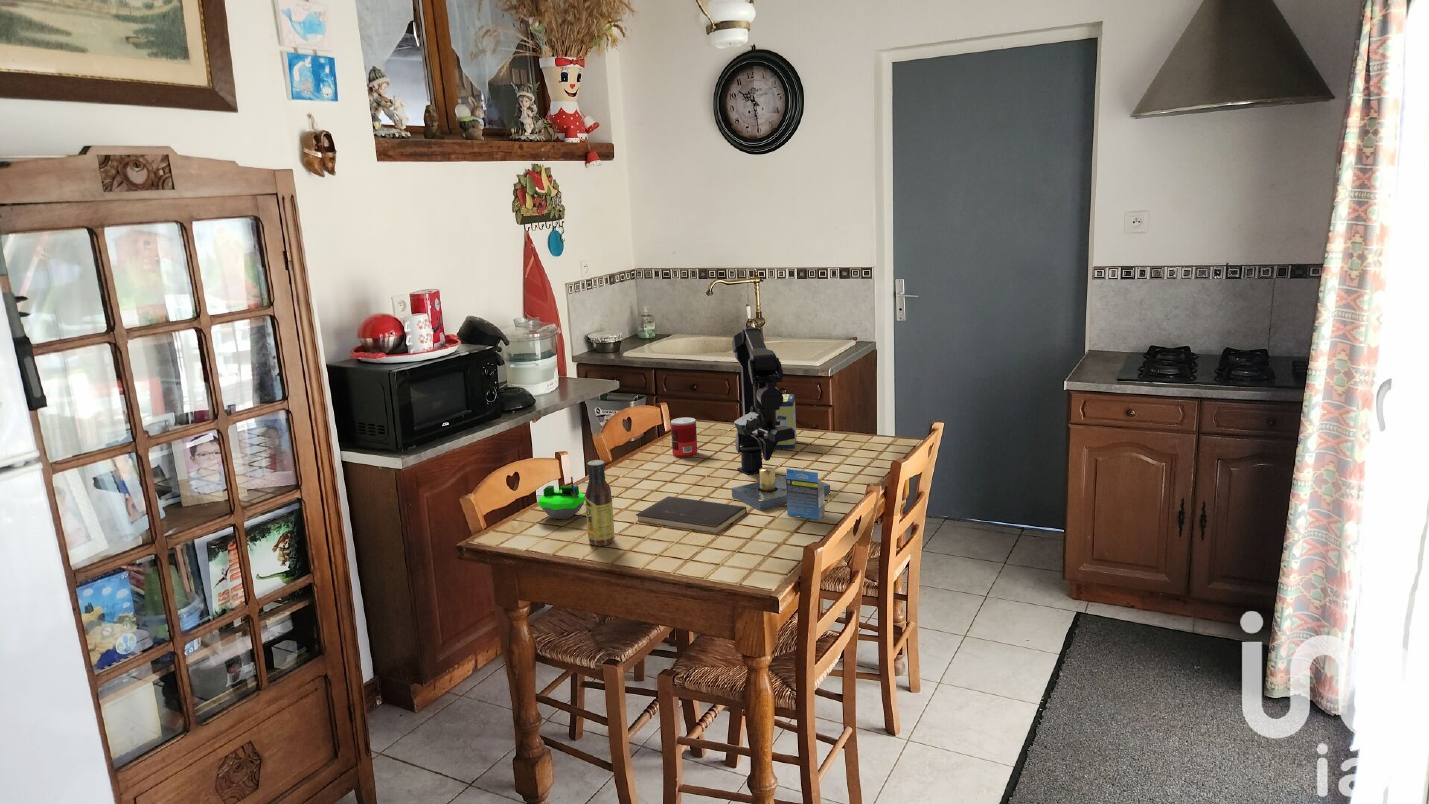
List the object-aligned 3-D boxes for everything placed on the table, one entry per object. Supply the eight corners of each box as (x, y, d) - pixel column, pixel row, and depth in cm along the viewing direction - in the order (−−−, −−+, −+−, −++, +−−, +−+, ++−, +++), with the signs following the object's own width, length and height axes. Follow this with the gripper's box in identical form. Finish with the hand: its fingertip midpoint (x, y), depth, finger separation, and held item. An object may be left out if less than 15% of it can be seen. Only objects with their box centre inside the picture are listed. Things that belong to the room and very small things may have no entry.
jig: (732, 496, 252) (731, 485, 251) (799, 481, 262) (799, 470, 261) (760, 510, 240) (760, 499, 239) (830, 493, 250) (830, 482, 250)
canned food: (702, 452, 296) (700, 418, 293) (688, 459, 289) (686, 424, 287) (682, 450, 300) (680, 416, 298) (667, 456, 293) (665, 422, 291)
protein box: (748, 441, 307) (747, 394, 304) (796, 440, 305) (795, 393, 301) (745, 449, 297) (743, 401, 294) (795, 449, 295) (793, 400, 291)
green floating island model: (592, 511, 246) (589, 470, 244) (576, 525, 235) (573, 483, 233) (548, 509, 249) (545, 469, 247) (531, 524, 238) (528, 481, 235)
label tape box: (825, 515, 234) (824, 468, 231) (819, 520, 231) (817, 472, 228) (793, 511, 238) (792, 464, 236) (786, 516, 235) (785, 468, 232)
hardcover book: (716, 535, 226) (715, 526, 225) (636, 523, 237) (635, 514, 236) (746, 514, 239) (746, 505, 239) (669, 503, 250) (669, 495, 250)
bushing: (757, 498, 250) (756, 469, 248) (770, 495, 252) (769, 466, 250) (765, 501, 246) (764, 472, 245) (778, 498, 248) (777, 469, 247)
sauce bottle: (589, 538, 226) (582, 458, 222) (615, 536, 226) (609, 456, 222) (587, 548, 220) (581, 466, 215) (614, 546, 220) (608, 464, 216)
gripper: (719, 400, 247) (722, 457, 251) (758, 413, 232) (760, 474, 235) (755, 394, 253) (757, 450, 256) (795, 406, 237) (797, 466, 240)
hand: (767, 460), depth 247 cm, fingers closed
